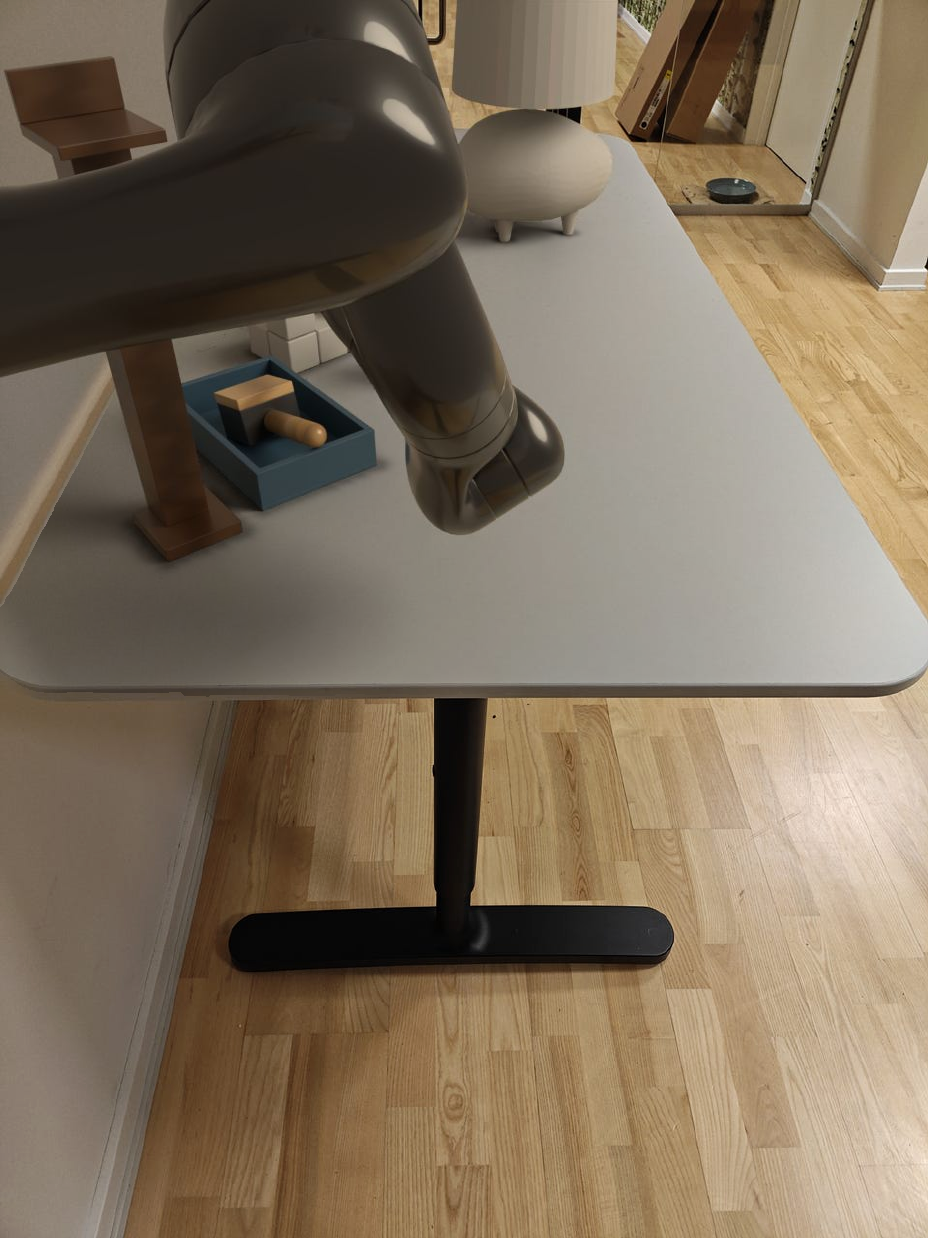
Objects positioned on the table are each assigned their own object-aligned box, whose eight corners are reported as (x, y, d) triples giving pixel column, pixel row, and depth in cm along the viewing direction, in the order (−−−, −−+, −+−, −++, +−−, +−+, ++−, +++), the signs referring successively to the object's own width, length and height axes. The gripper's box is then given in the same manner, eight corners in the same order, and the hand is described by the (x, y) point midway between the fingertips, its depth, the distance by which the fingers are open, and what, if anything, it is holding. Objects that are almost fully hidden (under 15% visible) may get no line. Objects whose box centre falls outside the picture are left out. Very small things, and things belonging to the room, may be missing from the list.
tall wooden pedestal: (168, 562, 77) (42, 91, 53) (134, 523, 81) (3, 69, 57) (243, 531, 80) (155, 74, 56) (207, 495, 84) (110, 55, 60)
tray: (377, 465, 88) (374, 429, 85) (262, 511, 82) (256, 474, 80) (276, 388, 99) (271, 354, 97) (169, 423, 93) (161, 389, 91)
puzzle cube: (312, 311, 114) (305, 246, 109) (375, 342, 108) (371, 275, 102) (231, 340, 108) (219, 273, 102) (292, 375, 101) (283, 306, 96)
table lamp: (589, 208, 143) (619, -120, 117) (623, 259, 127) (667, -106, 101) (443, 213, 141) (440, -120, 114) (459, 265, 125) (460, -106, 98)
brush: (296, 464, 81) (283, 415, 79) (226, 436, 91) (213, 392, 89) (351, 442, 84) (341, 394, 81) (278, 417, 94) (267, 374, 91)
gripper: (457, 215, 64) (340, 48, 67) (279, 260, 58) (158, 72, 60) (426, 289, 71) (321, 134, 74) (264, 337, 64) (154, 164, 67)
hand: (248, 106), depth 67 cm, fingers open, 8 cm apart
